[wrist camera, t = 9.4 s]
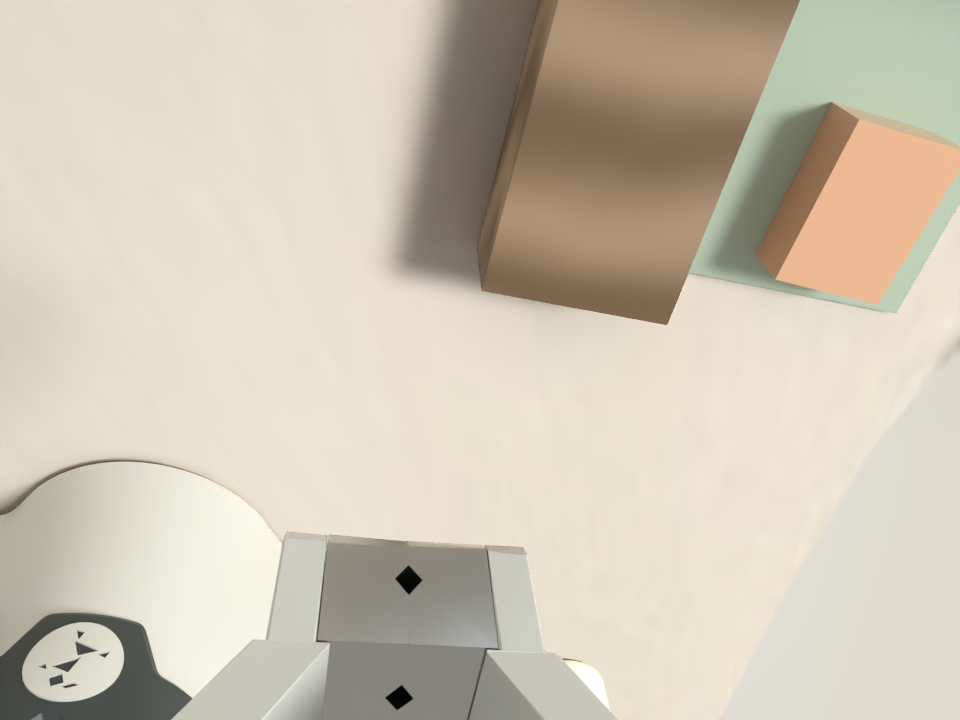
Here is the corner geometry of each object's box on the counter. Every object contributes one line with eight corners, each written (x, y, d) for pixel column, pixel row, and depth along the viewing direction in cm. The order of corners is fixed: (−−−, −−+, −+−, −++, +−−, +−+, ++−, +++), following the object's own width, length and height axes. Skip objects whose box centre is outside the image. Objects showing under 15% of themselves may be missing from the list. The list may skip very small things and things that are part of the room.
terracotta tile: (775, 279, 34) (755, 254, 36) (877, 304, 35) (852, 278, 37) (859, 119, 31) (831, 101, 33) (970, 152, 32) (937, 133, 34)
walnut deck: (645, 281, 37) (667, 324, 34) (477, 248, 36) (481, 290, 33) (771, -49, 30) (814, -35, 27) (566, -105, 29) (584, -98, 25)
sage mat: (892, 309, 39) (896, 313, 39) (668, 265, 37) (670, 269, 37) (1067, 2, 32) (1074, 3, 31) (801, -73, 30) (805, -72, 29)
